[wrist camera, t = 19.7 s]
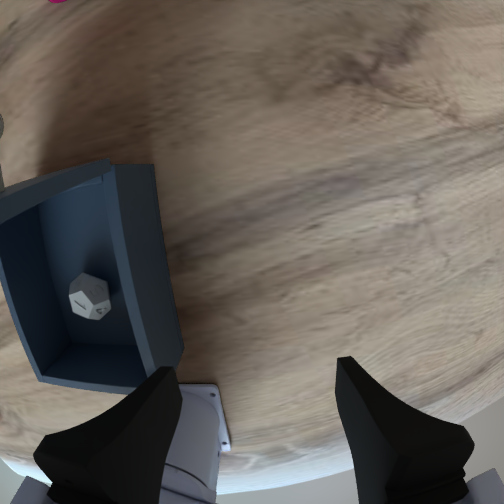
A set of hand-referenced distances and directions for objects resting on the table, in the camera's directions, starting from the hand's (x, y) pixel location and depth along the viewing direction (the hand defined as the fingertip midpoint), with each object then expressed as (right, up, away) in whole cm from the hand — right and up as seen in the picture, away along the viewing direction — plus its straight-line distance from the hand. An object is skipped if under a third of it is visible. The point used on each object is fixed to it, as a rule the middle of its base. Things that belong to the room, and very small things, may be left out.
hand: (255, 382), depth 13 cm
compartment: (-12, +4, +10) cm, 16 cm away
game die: (-12, +3, +10) cm, 16 cm away
